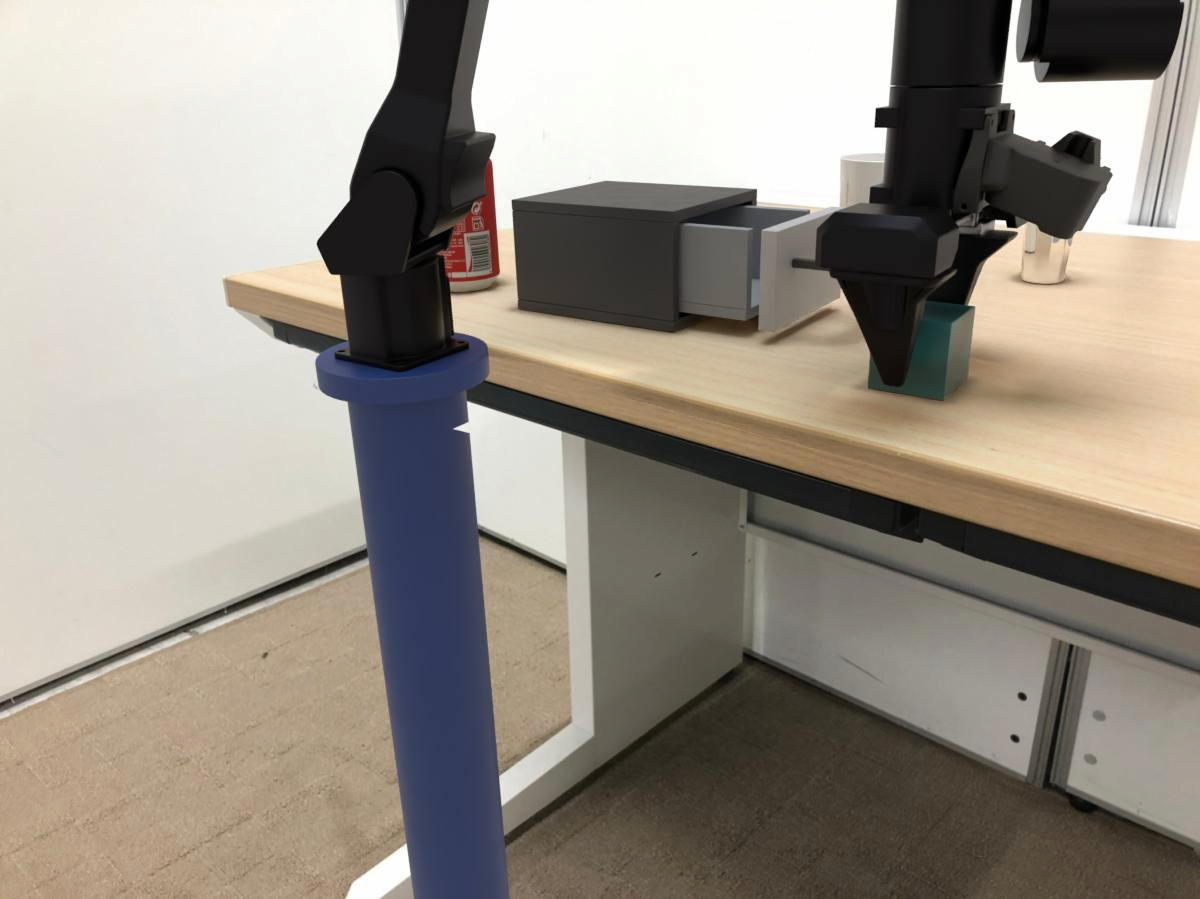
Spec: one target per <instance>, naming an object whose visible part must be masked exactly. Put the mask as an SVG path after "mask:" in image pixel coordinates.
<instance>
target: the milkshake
mask: <svg viewBox="0 0 1200 899" xmlns="http://www.w3.org/2000/svg"><path fill="white" fill-rule="evenodd" d="M1022 234H1023V236H1022V254H1021V271H1020V272H1021V273H1020V278H1021V280H1022V281H1024V282H1027V283H1032V284H1040V285H1041V284H1042V285H1049V284H1059V283H1062V282H1063V281H1064V279H1065V276H1066V275H1065V274H1066V271H1067V265H1068V262H1069V258H1070V252H1071V247H1072V244H1073V240H1074V236H1073V237H1072V238H1070V239H1059V238H1056V237H1053V236H1050V235H1048V234H1045V233H1043V232H1041V231H1039V229H1038V226H1037V225H1035V224H1033V223H1030V222H1027V223H1026V224H1024V225H1023V232H1022Z"/></svg>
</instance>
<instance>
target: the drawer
mask: <svg viewBox="0 0 1200 899" xmlns="http://www.w3.org/2000/svg"><path fill="white" fill-rule="evenodd" d="M844 208H845V207H840V206H828V207H826V208H823V209H820V210H817V211H815V212H811V209H809V208H794V207H793V208H792V207H779V206H778V207H775V206H764V205H757V206H749V205H734V206H731V207H727V208H724V209H720V210H717V211H713V212H710V213H706V214H702V215H699V216H695V217H692V218H688V219H685V220H681V221H678V222H679V312H685V313H692V314H699V315H706V316H709V317H713V318H720V319H721V318H723V319H730V320H735V321H744V322H746V321H749V320H750V319H753V318H755V317H757V316H758V323H757V324H758V326H757V327H758V328H757V329H758V331H763V332H771V333H774V332H776V331H778V330H781V329H782V328H785V327H786V326H789V325H790V324H792V323H794V322H796V321H798V320H800V319H802V318H804V317H806V316H808V315H809V314H811V313H813V312H815V311H817V310H819V309H821V308H824V307H825V306H827V305H829V304H831V303H833V302H835V301H837V300H839V299H840V298H841V292H842V289H841V287H840V285H839V283H838V281H837V279H834V278H831V277H830V274H829V268H821V267H819V266H817V265H815V252H816V232H817V228H818V227H819V226H820V225H821V224H822V223H823V222H824V221H825V220H826V219H827V218H828V217H829V216H831V215H832V214H833V213H834V212H835V211H838V210H841V209H844Z"/></svg>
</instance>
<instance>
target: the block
mask: <svg viewBox="0 0 1200 899" xmlns="http://www.w3.org/2000/svg"><path fill="white" fill-rule="evenodd" d="M975 316H976V306H975V305H969V304H968V305H959V304H950V303H941V302H933V301H926V302H925V306H924V310H923V314H922V318H921V322H920V326H919V330H918V334H917V338H916V342H915V346H914V350H913V354H912V358H911V362H910V366H909V369H908V373H907V376H906V380H905V383H904V385H902V386H901V387H892V386H887V385H884V384H883V382H882V380H881V378H880V375H879V373H878V370H877V368H876V366H875V363H874V361H873V358H872V356H871V354H870V353H869V366H868V375H867V376H868V377H867V388H868V389H873V390H877V391H884V392H890V393H895V394H902V395H907V396H908V395H909V396H914V397H920V398H927V399H932V400H939V401H945V400H946V399H947V398H948V397H949V396H950V395H951V394H952V393H954V392H955V391H956V390H957V389H958V388H960V386H961V385H963V383H965V382H966V381H967V380H968V377H969V376H968V375H969V368H970V358H971V349H972V341H973V331H974V324H975Z"/></svg>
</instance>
